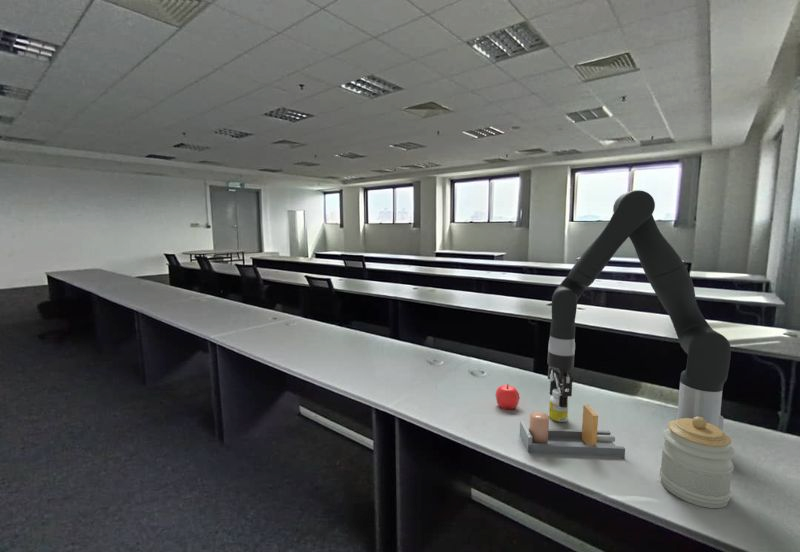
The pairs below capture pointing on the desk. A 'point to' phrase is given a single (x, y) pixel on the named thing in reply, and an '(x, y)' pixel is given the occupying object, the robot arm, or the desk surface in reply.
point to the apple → (507, 397)
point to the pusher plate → (592, 428)
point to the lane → (569, 443)
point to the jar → (697, 462)
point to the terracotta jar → (539, 427)
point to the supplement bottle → (557, 409)
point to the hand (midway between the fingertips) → (557, 400)
